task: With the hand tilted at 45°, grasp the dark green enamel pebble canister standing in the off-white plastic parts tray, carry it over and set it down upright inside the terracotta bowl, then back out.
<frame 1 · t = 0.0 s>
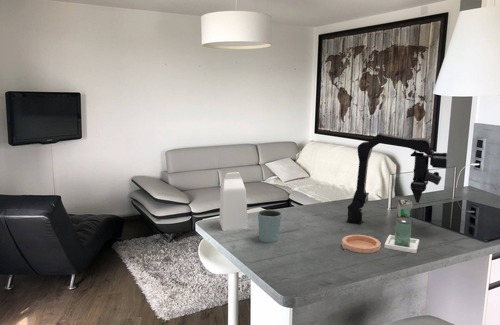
hand: (418, 200, 182), 15 cm above the breakfast bar, tool pointing down, fingers open, 9 cm apart
milk: (233, 226, 192), on the breakfast bar
parts tray: (401, 247, 165), on the breakfast bar
blue-grey cup: (269, 239, 175), on the breakfast bar
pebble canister: (401, 245, 165), point 1 cm above the breakfast bar, touching parts tray
food container: (404, 221, 198), on the breakfast bar
bowl: (360, 247, 165), on the breakfast bar
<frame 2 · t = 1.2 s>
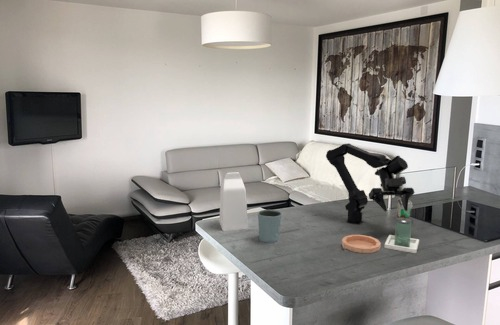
hand: (396, 210, 171), 13 cm above the breakfast bar, tool tilted 45°, fingers open, 9 cm apart
nothing on the breakfast bar moved.
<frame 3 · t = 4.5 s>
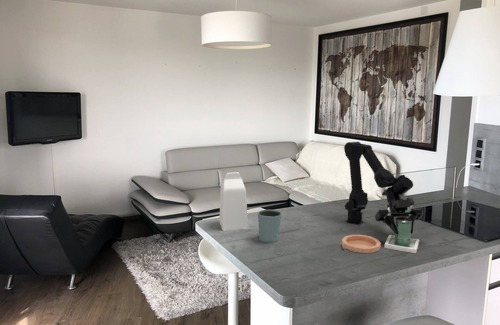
hand: (404, 233, 162), 7 cm above the breakfast bar, tool tilted 45°, fingers closed on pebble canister, 6 cm apart
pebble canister: (401, 245, 165), point 1 cm above the breakfast bar, touching gripper, parts tray
everything else where it was.
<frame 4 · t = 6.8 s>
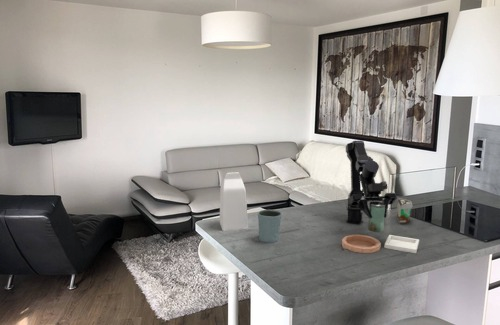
hand: (377, 217, 161), 13 cm above the breakfast bar, tool tilted 45°, fingers closed on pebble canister, 6 cm apart
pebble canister: (375, 229, 163), point 8 cm above the breakfast bar, touching gripper
everything else where it was.
when the fingers open (7 cm above the breakfast bar, at t = 9.3 s): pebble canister stays where it is, resting on bowl.
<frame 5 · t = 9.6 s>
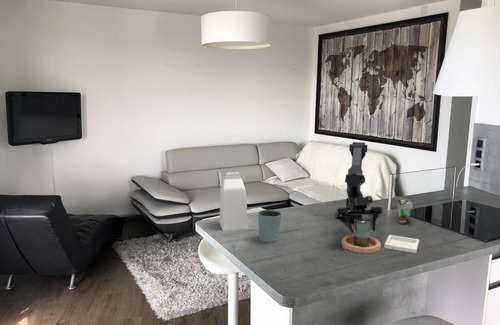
hand: (362, 231, 162), 8 cm above the breakfast bar, tool tilted 45°, fingers open, 9 cm apart
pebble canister: (361, 245, 165), point 1 cm above the breakfast bar, touching bowl
everything else where it was.
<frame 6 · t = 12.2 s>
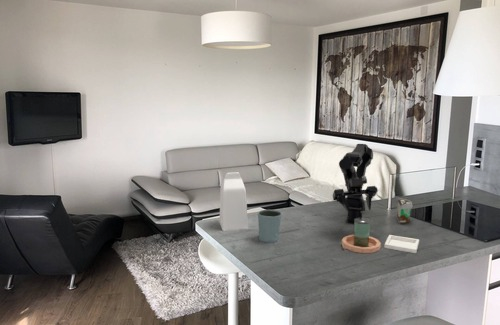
hand: (359, 210, 170), 13 cm above the breakfast bar, tool tilted 40°, fingers open, 9 cm apart
nothing on the breakfast bar moved.
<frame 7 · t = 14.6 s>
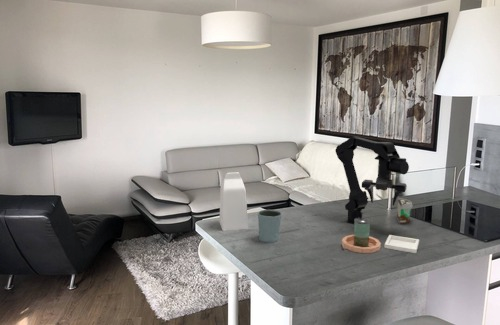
hand: (382, 203, 181), 13 cm above the breakfast bar, tool pointing down, fingers open, 9 cm apart
nothing on the breakfast bar moved.
at the end: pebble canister inside the target area on the bowl (0.1 cm from its centre), point 1.0 cm above the bowl's base; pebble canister tilted 0°; the gripper is holding nothing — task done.
